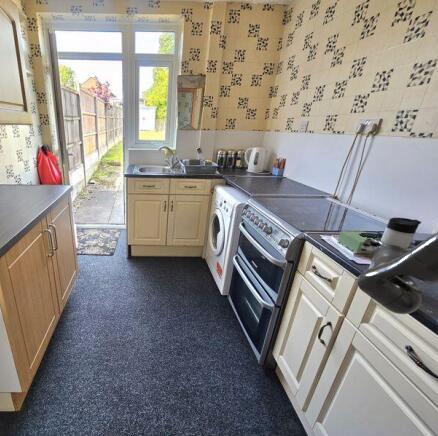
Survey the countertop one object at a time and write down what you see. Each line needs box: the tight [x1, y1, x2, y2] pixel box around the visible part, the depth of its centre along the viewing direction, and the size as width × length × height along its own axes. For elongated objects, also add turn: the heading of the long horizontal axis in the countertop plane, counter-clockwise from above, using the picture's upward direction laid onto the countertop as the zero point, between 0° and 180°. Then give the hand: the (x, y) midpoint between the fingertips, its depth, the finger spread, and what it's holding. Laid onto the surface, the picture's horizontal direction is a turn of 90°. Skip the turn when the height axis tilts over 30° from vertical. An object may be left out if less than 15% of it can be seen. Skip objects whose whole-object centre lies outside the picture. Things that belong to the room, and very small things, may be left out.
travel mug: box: [368, 217, 422, 269], centre depth 76 cm, size 6×7×20 cm
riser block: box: [337, 230, 375, 253], centre depth 97 cm, size 10×10×5 cm
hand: (393, 243), depth 77 cm, fingers closed on travel mug, 6 cm apart
